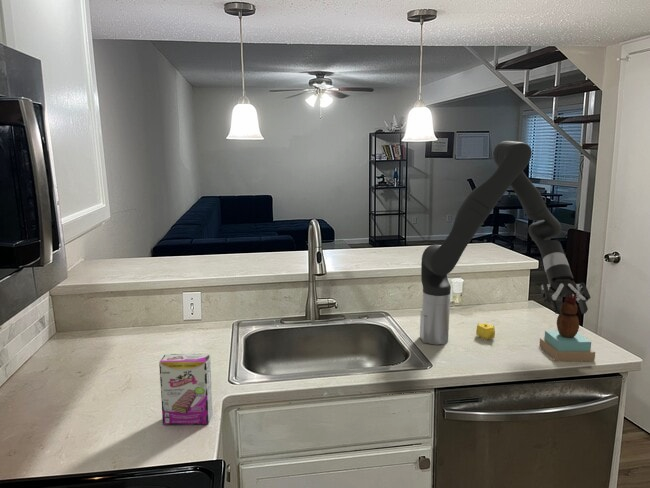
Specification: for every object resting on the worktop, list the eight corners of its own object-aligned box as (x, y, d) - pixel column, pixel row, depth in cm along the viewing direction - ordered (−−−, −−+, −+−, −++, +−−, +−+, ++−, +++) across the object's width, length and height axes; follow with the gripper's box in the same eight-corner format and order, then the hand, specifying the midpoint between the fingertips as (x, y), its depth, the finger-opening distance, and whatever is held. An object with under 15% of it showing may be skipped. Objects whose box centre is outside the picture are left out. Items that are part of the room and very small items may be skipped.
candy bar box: (162, 426, 116) (157, 361, 113) (168, 415, 121) (164, 353, 118) (209, 425, 116) (206, 361, 113) (213, 414, 121) (210, 352, 118)
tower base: (556, 361, 152) (557, 343, 151) (539, 346, 164) (540, 329, 163) (594, 361, 152) (596, 343, 151) (574, 346, 164) (576, 329, 163)
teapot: (501, 340, 169) (502, 326, 168) (488, 343, 167) (489, 328, 166) (485, 332, 176) (486, 319, 175) (472, 335, 174) (473, 321, 173)
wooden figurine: (581, 339, 154) (585, 294, 151) (562, 339, 154) (566, 294, 151) (570, 332, 160) (575, 288, 157) (553, 332, 160) (557, 288, 158)
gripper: (540, 263, 160) (553, 307, 151) (583, 263, 160) (599, 307, 151) (532, 274, 167) (544, 318, 157) (573, 274, 167) (588, 317, 157)
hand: (571, 312), depth 154 cm, fingers open, 8 cm apart
